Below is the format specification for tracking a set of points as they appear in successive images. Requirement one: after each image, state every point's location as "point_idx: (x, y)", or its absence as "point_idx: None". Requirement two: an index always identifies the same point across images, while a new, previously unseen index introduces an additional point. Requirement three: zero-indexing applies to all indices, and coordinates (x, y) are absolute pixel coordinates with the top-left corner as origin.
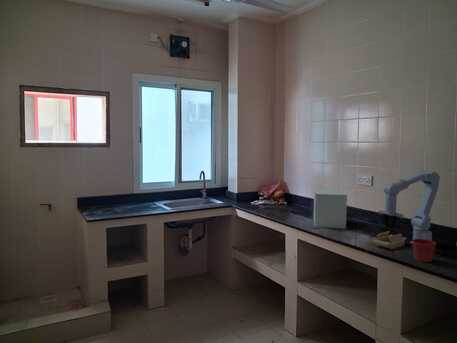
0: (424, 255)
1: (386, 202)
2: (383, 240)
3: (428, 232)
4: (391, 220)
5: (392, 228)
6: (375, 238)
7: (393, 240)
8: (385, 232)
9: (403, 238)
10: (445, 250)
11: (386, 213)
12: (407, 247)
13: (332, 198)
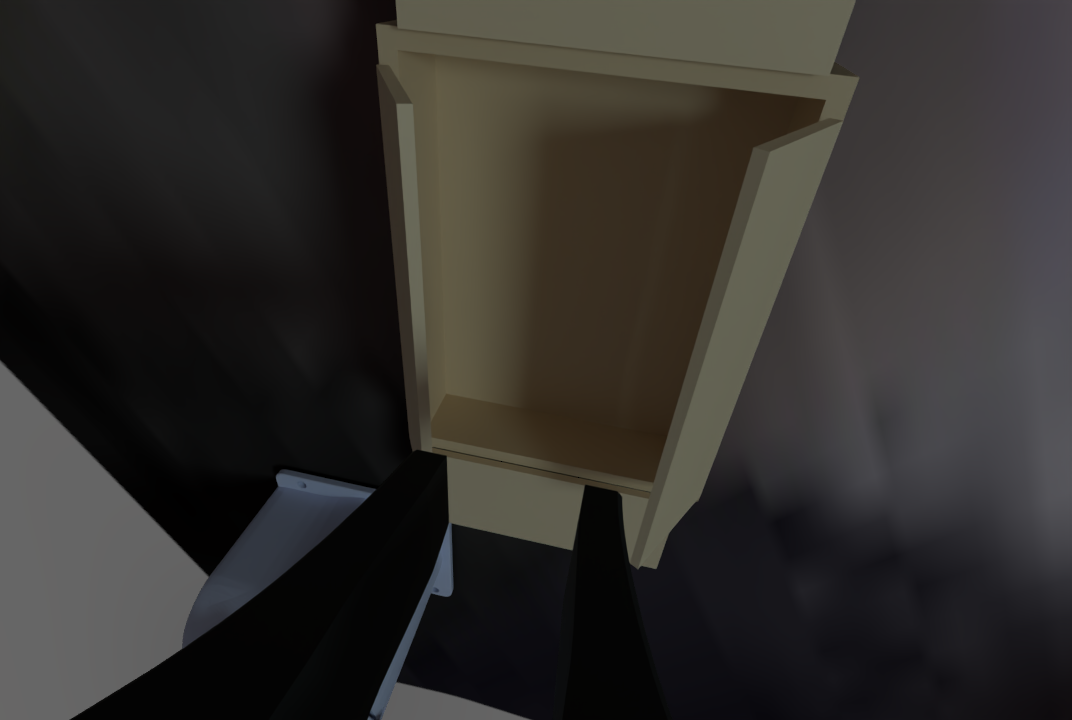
0: None
1: None
2: None
3: (183, 639)
4: (227, 714)
5: (409, 460)
6: (833, 120)
7: (388, 166)
8: (667, 443)
9: (450, 490)
10: (137, 459)
11: None
12: (359, 325)
13: None
